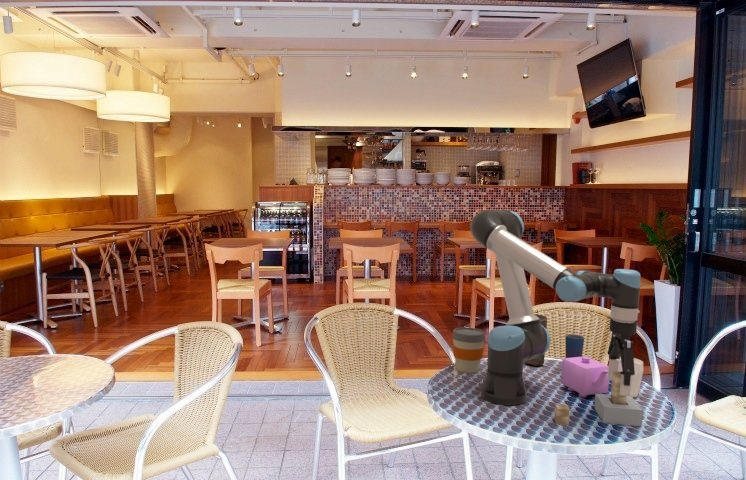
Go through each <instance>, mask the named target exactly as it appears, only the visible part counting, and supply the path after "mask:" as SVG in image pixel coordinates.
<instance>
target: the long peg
mask: <svg viewBox="0 0 746 480" xmlns="http://www.w3.org/2000/svg"><path fill="white" fill-rule="evenodd" d="M620 383H621V374H620V372H616V371H613V373H612V380H611V389H610V395H611V403H612V404H619V405H626V396H625V395H620Z"/></svg>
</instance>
